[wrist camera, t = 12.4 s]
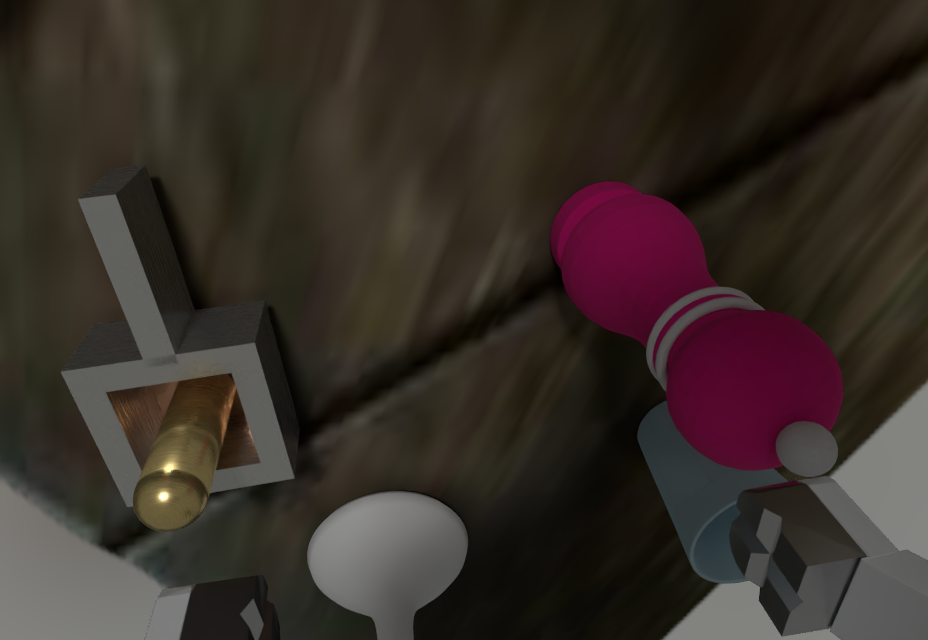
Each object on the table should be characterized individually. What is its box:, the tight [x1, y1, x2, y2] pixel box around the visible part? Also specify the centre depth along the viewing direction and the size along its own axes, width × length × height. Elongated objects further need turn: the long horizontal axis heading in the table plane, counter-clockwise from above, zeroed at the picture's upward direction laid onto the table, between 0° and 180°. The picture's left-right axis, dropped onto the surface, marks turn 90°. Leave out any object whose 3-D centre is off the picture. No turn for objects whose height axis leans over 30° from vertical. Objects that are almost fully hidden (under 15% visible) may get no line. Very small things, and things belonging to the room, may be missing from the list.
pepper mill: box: [550, 181, 844, 477], centre depth 28 cm, size 7×7×20 cm
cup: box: [637, 400, 788, 583], centre depth 41 cm, size 8×8×10 cm
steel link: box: [61, 165, 300, 507], centre depth 32 cm, size 17×9×4 cm, turn 4°
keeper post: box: [133, 373, 245, 532], centre depth 32 cm, size 8×8×11 cm
